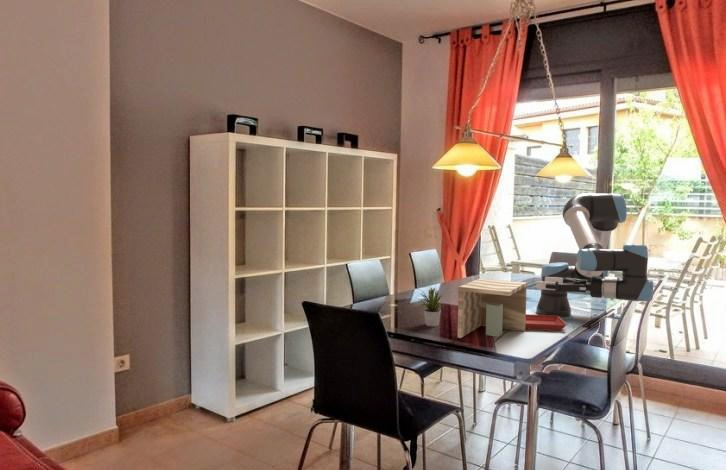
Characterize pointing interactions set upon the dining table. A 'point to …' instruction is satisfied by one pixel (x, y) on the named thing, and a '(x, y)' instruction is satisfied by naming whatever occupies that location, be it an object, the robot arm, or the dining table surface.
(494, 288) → the cubby box
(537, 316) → the plant saucer
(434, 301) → the house plant
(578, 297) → the dining table surface
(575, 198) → the robot arm
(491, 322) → the tall block
